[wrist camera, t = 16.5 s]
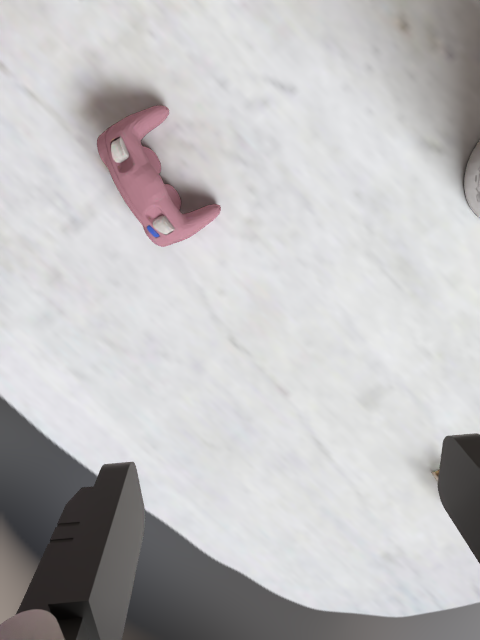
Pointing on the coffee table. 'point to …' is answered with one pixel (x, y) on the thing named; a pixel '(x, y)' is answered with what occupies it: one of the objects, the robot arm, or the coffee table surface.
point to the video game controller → (148, 180)
